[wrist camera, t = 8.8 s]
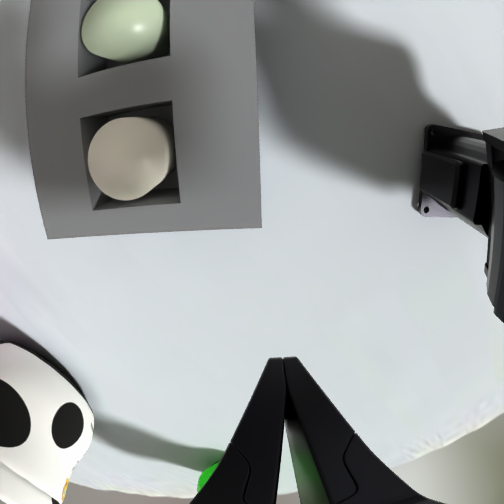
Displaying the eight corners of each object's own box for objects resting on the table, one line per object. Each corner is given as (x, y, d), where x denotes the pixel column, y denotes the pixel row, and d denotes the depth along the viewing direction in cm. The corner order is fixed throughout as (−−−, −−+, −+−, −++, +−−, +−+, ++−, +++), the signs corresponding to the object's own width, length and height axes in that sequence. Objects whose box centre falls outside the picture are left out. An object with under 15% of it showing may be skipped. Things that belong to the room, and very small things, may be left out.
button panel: (246, -95, 9) (246, -125, 5) (259, 205, 19) (261, 227, 15) (74, -56, 9) (49, -73, 6) (77, 217, 19) (47, 239, 16)
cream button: (179, 111, 16) (159, 111, 12) (184, 179, 18) (167, 196, 14) (115, 121, 16) (83, 125, 12) (122, 185, 18) (94, 204, 14)
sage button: (176, 1, 13) (158, -23, 9) (177, 60, 14) (157, 46, 11) (113, 16, 13) (83, -1, 9) (112, 72, 15) (80, 65, 11)
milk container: (93, 435, 33) (62, 533, 17) (-2, 377, 29) (-49, 462, 13) (113, 382, 27) (63, 532, 11) (-12, 302, 23) (-97, 411, 7)
